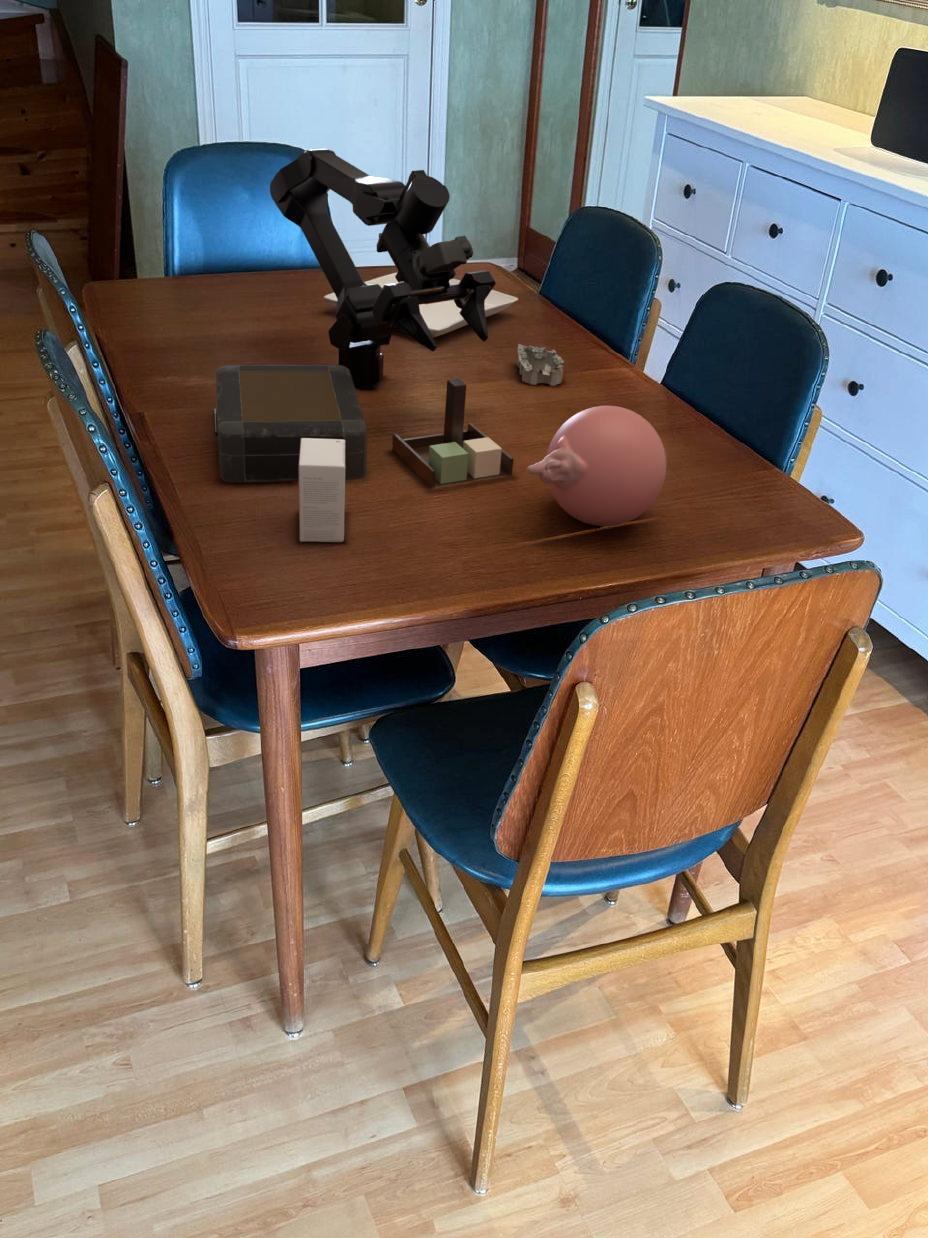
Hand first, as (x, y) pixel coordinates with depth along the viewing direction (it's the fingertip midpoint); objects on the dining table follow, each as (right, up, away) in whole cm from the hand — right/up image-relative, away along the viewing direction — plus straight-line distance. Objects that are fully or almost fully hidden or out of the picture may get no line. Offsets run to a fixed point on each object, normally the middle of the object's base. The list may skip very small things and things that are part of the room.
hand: (460, 344), depth 158 cm
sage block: (-2, -19, -4) cm, 20 cm away
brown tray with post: (-1, -17, 0) cm, 17 cm away
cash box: (-25, -14, +2) cm, 29 cm away
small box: (-17, -28, -18) cm, 37 cm away
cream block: (+3, -18, -2) cm, 19 cm away
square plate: (-8, +20, +56) cm, 60 cm away
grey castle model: (+13, +3, +33) cm, 36 cm away
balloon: (+16, -26, -12) cm, 33 cm away
